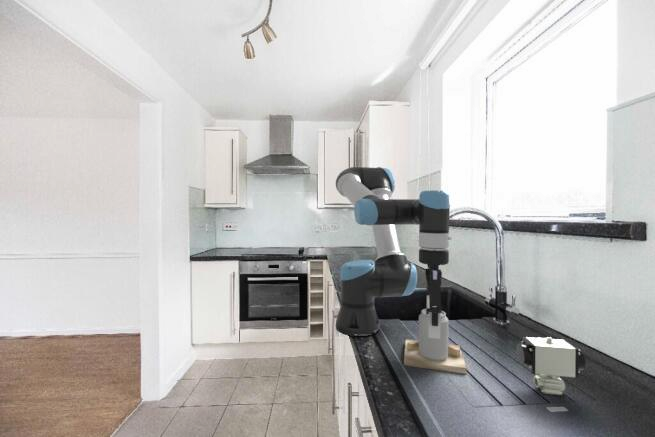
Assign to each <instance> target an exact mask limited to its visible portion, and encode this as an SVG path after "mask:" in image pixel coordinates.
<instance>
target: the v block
mask: <svg viewBox="0 0 655 437" xmlns="http://www.w3.org/2000/svg"><path fill="white" fill-rule="evenodd" d="M404 342H405V344H404V356H403V365H404V366H407V367H414V368H415V367H416V368H421V369H427V370H428V369H429V370H435V371H436V370H437V371H442V372H449V373H456V374H464V375H467V372H468V371H467V370H468V369H467V366H466V363H465V359H464V357H463V356H464V355H463V353H462V350H461V346H460V345H457V344H450V343H448V357H447V358H445V359H444V360H442V361H432V360H428V359H426V358H424V357H423V356H422V355H421V354H420V353H419V339H416V340H415V339H405V341H404Z"/></svg>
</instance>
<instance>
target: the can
mask: <svg viewBox="0 0 655 437" xmlns="http://www.w3.org/2000/svg"><path fill="white" fill-rule="evenodd" d="M446 315H447V313H446V312H445V311H443V310H442V311H441V317H440V339H437V338H429V337H428V332H429V312H426V308H423V309H421V313H420V314H419V315H418V340H419V353H420V354H421V355H422V356H423V357H424V358H426V359H428V360H432V361H442V360H444V359H445V358H447V357H448V344H449V318H448V317H447V316H446Z"/></svg>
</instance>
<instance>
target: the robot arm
mask: <svg viewBox="0 0 655 437" xmlns="http://www.w3.org/2000/svg"><path fill="white" fill-rule="evenodd" d="M395 186H396V185H395V176H394V174H393V172H392V171H391V170H390V169H389V168H386V167H381V166H379V167H365V166H364V167H363V166H362V167H361V166H353V167H352V166H351V167H348V168H345V169H344V170H342V171H341V172H339V174H338V175H337V177H336V180H335V188H336V190H337V192H338V194H340V195H341V196H342V197H345V198H346V199H347V200H348V201H349V202H350V203H351V204H352V206H353V207H354V208H353V212H354V214H353V215H354V220H355V222H356V223H357V224H358V225H365V226H372V231H373V237H374V243H375V248H376V253H377V257H376V258H375V260H372V259H356V260H350V261H347V262H345V263H344V264H342V266H341V267H340V276H339V278H340V306H339V310H338V314H337V317H336V320H335V330H336V331H337V332H338V333H340V334H342V335H345V336H349V337H353V336H352V335H353V334H371V333H372V332H373V331H374V330H376V329H378V328H379V329H380V321H379V317H378V314H377V311H376V308H375V298H389V297H392V298H394V297H399V298H401V297H405V296H410V295H411V294H413V293H414V292H415V290H416V287H417V284H418V272H417V271H418V270H417V267H416V265H415V264H414V263H413V262H411V261H408V259H407V258H408V257H407V255H406V254H405V253H403V252H402V251H401V246H400V242H399V238H398V234H397V229H396V225H406V226H407V225H408V226H409V225H416V226H417V225H418V247H419V250H418V262H419V263H420V264H424V265H426V266H427V268H425V271H424V272H425V280H426V307H425V309H426V312H429V332H428V337H429V338H437V339H440V317H441V311H443V310H442V299H441V298H442V295H441V294H442V292H441V288H442V276H443V271H442V269H439V267H440V266H445V265H448V264H449V261H450V259H449V258H450V255H449V254H450V251H449V249H448V248H449V247H450V246H449V245H450V244H449V243H450V241H451V240H452V236H449V234H450V207H451V205H450V193H449V192H448V191H447V190H440V189H439V190H437V189H435V190H434V189H432V190H431V189H430V190H422V191H421V192H420V193H419V198H415V199H414V198H413V199H412V198H411V199H410V198H407V199H405V198H403V199H399V198H397V199H396V198H394V199H393V198H391V197H392V195H393V193H394V191H395ZM390 198H391V199H390Z"/></svg>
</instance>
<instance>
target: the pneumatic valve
mask: <svg viewBox="0 0 655 437" xmlns="http://www.w3.org/2000/svg"><path fill="white" fill-rule="evenodd" d="M520 342H521V343H517V345H516V348H515V351H516V352H515V354H516V357H517V360H518V362H519V364H521V365H523V366H525V367H526V368H527V370H529V372H530V373H531V374H535V375H534V376H533V382H534V386H535V388H537V389H540V391H541V393H543V394H544V395H545V394H547V395H553V396H556V395H557V396H562V395H563V392H564V391H565V389H566V384H565V381H564V380H563V379H562V378H560V377H567V378H579V374H580V373H581V371H583V370H585V369H586V364H587V362H586V357H585V355H584V353H583V351H582V349H580V348H579V347H576V346H575V345H573V344H572V343H571V342H570V341H568V340H566V339H559V338H557V339H555V338H552V337H551V336H546V337H540V336H538V337H530V336H529V337H528V336H522V340H521V341H520Z"/></svg>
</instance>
